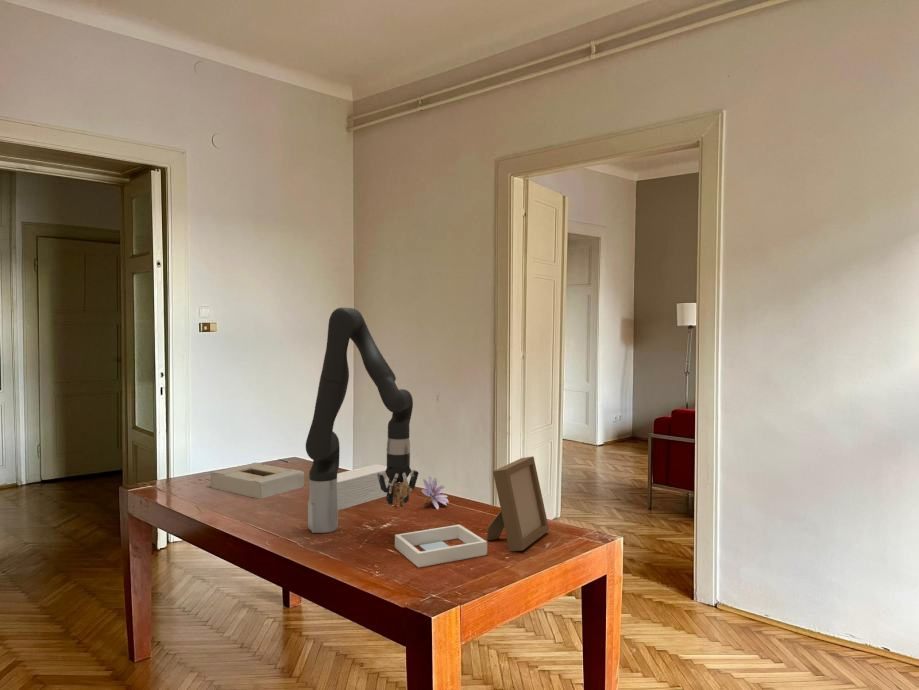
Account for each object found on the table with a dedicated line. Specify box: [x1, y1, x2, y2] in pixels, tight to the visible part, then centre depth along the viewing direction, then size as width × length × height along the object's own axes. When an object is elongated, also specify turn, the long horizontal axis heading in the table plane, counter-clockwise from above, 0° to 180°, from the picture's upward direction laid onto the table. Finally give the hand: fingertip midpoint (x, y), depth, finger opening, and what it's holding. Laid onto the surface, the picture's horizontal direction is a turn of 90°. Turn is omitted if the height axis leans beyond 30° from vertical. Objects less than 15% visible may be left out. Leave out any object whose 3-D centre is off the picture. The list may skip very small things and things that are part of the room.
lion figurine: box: [384, 482, 413, 510], centre depth 218 cm, size 15×5×9 cm, turn 34°
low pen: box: [394, 524, 488, 568], centre depth 203 cm, size 22×18×4 cm
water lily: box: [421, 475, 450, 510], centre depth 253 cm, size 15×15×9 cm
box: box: [210, 462, 305, 499], centre depth 280 cm, size 23×8×32 cm
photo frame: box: [485, 456, 550, 552], centre depth 213 cm, size 15×22×25 cm
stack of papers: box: [337, 463, 389, 511], centre depth 260 cm, size 32×11×11 cm, turn 141°
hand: (397, 503), depth 217 cm, fingers closed on lion figurine, 4 cm apart
